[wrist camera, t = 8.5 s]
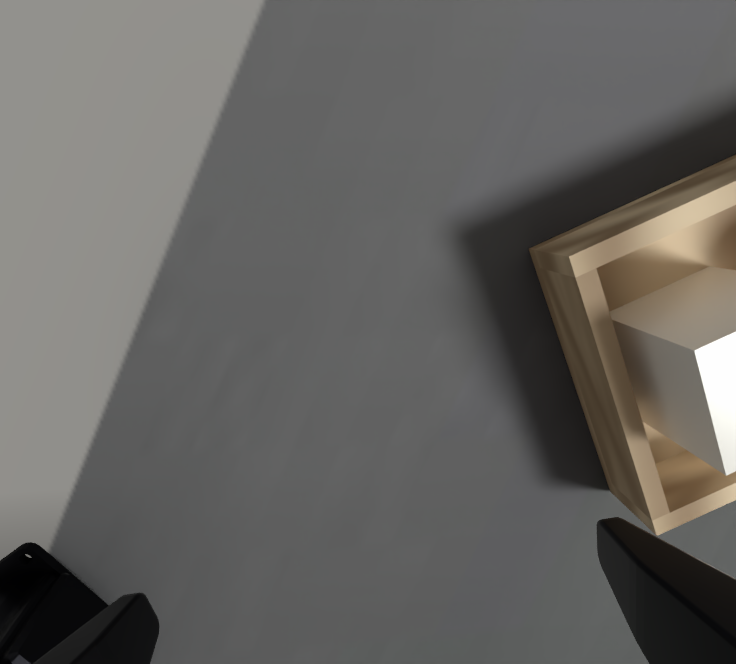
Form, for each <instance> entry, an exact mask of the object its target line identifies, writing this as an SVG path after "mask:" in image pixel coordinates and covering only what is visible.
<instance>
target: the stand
mask: <svg viewBox="0 0 736 664" xmlns="http://www.w3.org/2000/svg"><path fill="white" fill-rule="evenodd" d="M610 315H611V319H612V322H613V325H614V329H615V332H616V335H617V339H618V342H619V345H620V349H621V352H622V355H623V359H624V362H625V365H626V369H627V372H628V375H629V378H630V382H631V385H632V388H633V392H634V395H635V398H636V402H637V405H638V408H639V412H640V415H641V418H642V421H643V422H644V423H646V424H647V425H649V426H650V427H652V428H654V429H655V430H657V431H658V432H660V433H661V434H663V435H664V436H666V437H667V438H669V439H670V440H672V441H674V442H675V443H677V444H678V445H680V446H681V447H683V448H684V449H686V450H687V451H689V452H690V453H692V454H694V455H695V456H697V457H698V458H700V459H701V460H703V461H704V462H706V463H707V464H709V465H711V466H712V467H714V468H715V469H717V470H718V471H720V472H721V473H723V474H724V475H726V476H727V475H729V474H731V473H733V472H735V471H736V270H730V269H724V268H717V267H711V266H709V267H707V268H705V269H702V270H700V271H698V272H696V273H694V274H691V275H689V276H687V277H685V278H683V279H680V280H678V281H676V282H674V283H672V284H669V285H667V286H665V287H663V288H661V289H658V290H656V291H654V292H652V293H650V294H647V295H645V296H643V297H641V298H639V299H636V300H634V301H632V302H630V303H628V304H625V305H623V306H621V307H619V308H617V309H614V310H612V311H610Z"/></svg>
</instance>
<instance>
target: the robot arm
mask: <svg viewBox="0 0 736 664" xmlns="http://www.w3.org/2000/svg"><path fill="white" fill-rule="evenodd" d="M597 550H598V557H599V561H600V564H601V566H602V569H603V571H604V573H605V575H606V577H607V580H608V582H609V584H610V586H611V588H612V590H613V593H614V595H615V597H616V599H617V601H618V603H619V605H620V608H621V610H622V612H623V614H624V616H625V618H626V621H627V623H628V625H629V627H630V629H631V631H632V633H633V635H634V637H635V639H636V641H637V643H638V645H639V647H640V648H641V650H642V652H643V654H644V655H645V657H646V659H647V660H648V662H649V664H736V579H735V578H733V577H731V576H729V575H727V574H726V573H724V572H722V571H720V570H718V569H716V568H714V567H712V566H710V565H709V564H707V563H705V562H703V561H701V560H699V559H697V558H695V557H693V556H692V555H690V554H688V553H686V552H684V551H682V550H680V549H678V548H677V547H675V546H673V545H671V544H669V543H667V542H665V541H663V540H661V539H660V538H658V537H656V536H654V535H652V534H650V533H648V532H646V531H644V530H643V529H641V528H639V527H637V526H635V525H633V524H631V523H629V522H628V521H626V520H624V519H622V518H619V517H615V518H608V519H602V520H599V521H598V522H597ZM25 554H28V555H30V556H31V557H32V558H29V557H27V556H26V555H25ZM158 634H159V621H158V618H157V616H156V614H155V612H154V610H153V608H152V606H151V604H150V603H149V601H148V599H147V597H146V596H145V595H144V594H143V593H134V594H127V595H123V596H122V597H120V598H119V599H117V600H116V601H115V602H113V603H112V604H111V605H109V606H108V605H107V604H106V603H105V602H104V601H102V600H101V599H100V598H99V597H98V596H97V595H95V594H94V593H93V592H92V591H91V590H90V589H89V588H87V587H86V586H85V585H84V584H83V583H82V582H81V581H79V580H78V579H77V578H76V577H75V576H74V575H73V574H71V573H70V572H69V571H68V570H67V569H66V568H65V567H63V566H62V565H61V564H60V563H59V562H58V561H57V560H55V559H54V558H53V557H52V556H51V555H50V554H49V553H47V552H46V551H45V550H44V549H43V548H42V547H40V546H39V545H37V544H36V543H25V544H23V545H21V546H20V547H18V548H17V549H16V550H14V551H13V552H11V553H10V554H9V555H8V556H6V557H5V558H3V559H2V560H1V561H0V664H150V662H151V658H152V655H153V652H154V648H155V645H156V642H157V638H158Z"/></svg>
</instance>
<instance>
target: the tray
mask: <svg viewBox="0 0 736 664" xmlns="http://www.w3.org/2000/svg"><path fill="white" fill-rule="evenodd" d="M529 252H530V255H531V258H532V261H533V264H534V267H535V270H536V272H537V275H538V278H539V281H540V284H541V287H542V290H543V293H544V296H545V299H546V302H547V305H548V308H549V311H550V314H551V317H552V320H553V323H554V326H555V329H556V332H557V335H558V338H559V341H560V344H561V347H562V350H563V352H564V355H565V358H566V361H567V364H568V367H569V370H570V373H571V376H572V379H573V382H574V385H575V388H576V391H577V394H578V397H579V400H580V403H581V406H582V409H583V412H584V415H585V418H586V421H587V424H588V427H589V430H590V433H591V435H592V438H593V441H594V444H595V447H596V450H597V453H598V456H599V459H600V462H601V465H602V468H603V471H604V474H605V477H606V480H607V483H608V486H609V489H610V492H611V493H612V494H614V495H615V496H616V497H617V498H618V499H619V500H620V501H621V502H622V503H623V504H624V505H625V506H626V507H627V508H628V509H629V510H630V511H631V512H632V513H633V514H635V515H636V516H637V517H638V518H639V519H640V520H641V521H642V522H643V523H644V524H645V525H646V526H647V527H648V528H649V529H650V530H651V531H652V532H653V533H654V534H656V535H660V534H662V533H664V532H666V531H668V530H671V529H673V528H675V527H677V526H679V525H682V524H684V523H686V522H688V521H690V520H693V519H695V518H697V517H699V516H701V515H704V514H706V513H708V512H710V511H712V510H715V509H717V508H719V507H721V506H723V505H726V504H728V503H730V502H732V501H734V500H736V471H735V472H733V473H731V474H729V475H727V476H726V475H724V474H723V473H721V472H720V471H718V470H717V469H715V468H714V467H712V466H711V465H709V464H707V463H706V462H704V461H703V460H701V459H700V458H698V457H697V456H695V455H694V454H692V453H690V452H689V451H687V450H686V449H684V448H683V447H681V446H680V445H678V444H677V443H675V442H674V441H672V440H670V439H669V438H667V437H666V436H664V435H663V434H661V433H660V432H658V431H657V430H655V429H654V428H652V427H650V426H649V425H647V424H646V423H644V422H643V421H642V418H641V415H640V412H639V408H638V405H637V402H636V398H635V395H634V392H633V388H632V385H631V382H630V378H629V375H628V372H627V369H626V365H625V362H624V359H623V355H622V352H621V349H620V345H619V342H618V339H617V335H616V332H615V329H614V325H613V322H612V319H611V315H610V311H612V310H614V309H617V308H619V307H621V306H623V305H625V304H628V303H630V302H632V301H634V300H636V299H639V298H641V297H643V296H645V295H647V294H650V293H652V292H654V291H656V290H658V289H661V288H663V287H665V286H667V285H669V284H672V283H674V282H676V281H678V280H680V279H683V278H685V277H687V276H689V275H691V274H694V273H696V272H698V271H700V270H702V269H705V268H707V267H709V266H711V267H717V268H724V269H730V270H736V155H734V156H731V157H729V158H727V159H725V160H723V161H720V162H718V163H716V164H714V165H712V166H709V167H707V168H705V169H703V170H701V171H698V172H696V173H694V174H692V175H690V176H687V177H685V178H683V179H681V180H679V181H676V182H674V183H672V184H670V185H668V186H665V187H663V188H661V189H659V190H657V191H654V192H652V193H650V194H648V195H646V196H643V197H641V198H639V199H637V200H635V201H632V202H630V203H628V204H626V205H624V206H621V207H619V208H617V209H615V210H613V211H610V212H608V213H606V214H604V215H602V216H599V217H597V218H595V219H593V220H591V221H588V222H586V223H584V224H582V225H580V226H577V227H575V228H573V229H571V230H569V231H566V232H564V233H562V234H560V235H558V236H555V237H553V238H551V239H549V240H547V241H544V242H542V243H540V244H538V245H536V246H533V247H531V248H529Z"/></svg>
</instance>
